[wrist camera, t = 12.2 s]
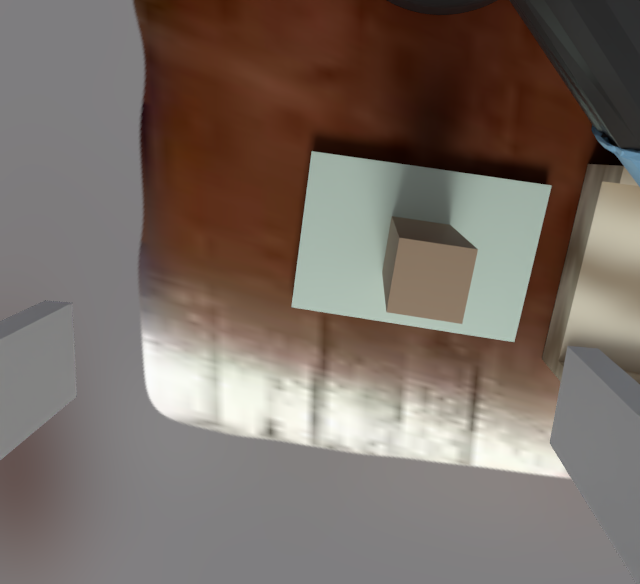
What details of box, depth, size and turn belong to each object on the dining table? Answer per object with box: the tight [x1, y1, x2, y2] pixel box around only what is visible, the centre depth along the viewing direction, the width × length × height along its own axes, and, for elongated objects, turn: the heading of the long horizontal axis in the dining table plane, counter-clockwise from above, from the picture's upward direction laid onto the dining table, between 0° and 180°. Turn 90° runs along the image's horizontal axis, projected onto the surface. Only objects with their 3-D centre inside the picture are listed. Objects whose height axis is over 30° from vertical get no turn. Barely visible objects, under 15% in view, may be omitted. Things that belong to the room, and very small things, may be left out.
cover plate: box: [292, 151, 551, 342], centre depth 35 cm, size 11×16×12 cm
